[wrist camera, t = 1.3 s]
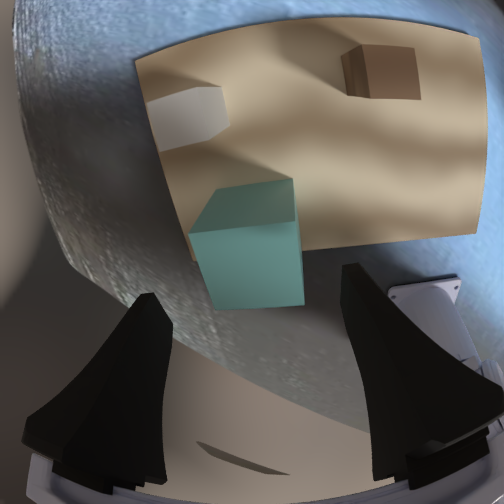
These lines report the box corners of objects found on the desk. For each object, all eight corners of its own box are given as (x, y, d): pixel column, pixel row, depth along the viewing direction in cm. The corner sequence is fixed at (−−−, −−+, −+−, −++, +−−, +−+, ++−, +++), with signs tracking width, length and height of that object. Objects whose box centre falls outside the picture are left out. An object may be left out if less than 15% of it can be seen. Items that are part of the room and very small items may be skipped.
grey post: (230, 125, 16) (209, 139, 12) (191, 134, 16) (159, 151, 12) (221, 86, 15) (196, 87, 10) (182, 97, 15) (146, 102, 11)
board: (471, 228, 18) (476, 233, 17) (196, 255, 23) (193, 261, 22) (472, 38, 10) (478, 38, 9) (140, 61, 14) (134, 61, 14)
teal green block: (301, 246, 20) (304, 305, 15) (232, 253, 21) (215, 310, 16) (292, 178, 17) (295, 221, 12) (216, 189, 18) (187, 233, 13)
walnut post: (386, 95, 13) (421, 100, 9) (347, 95, 14) (370, 98, 10) (380, 56, 12) (414, 48, 8) (340, 55, 13) (361, 44, 8)
